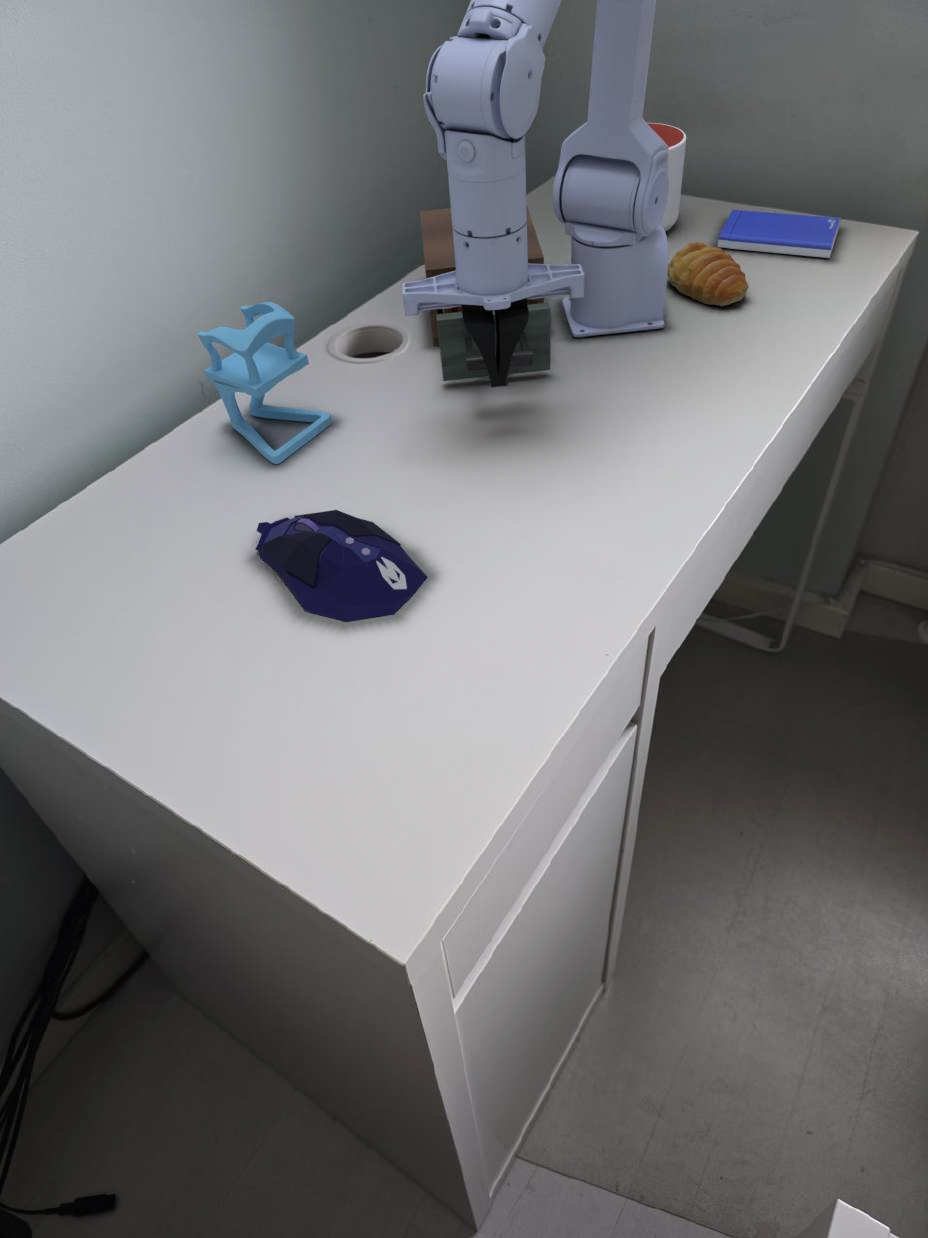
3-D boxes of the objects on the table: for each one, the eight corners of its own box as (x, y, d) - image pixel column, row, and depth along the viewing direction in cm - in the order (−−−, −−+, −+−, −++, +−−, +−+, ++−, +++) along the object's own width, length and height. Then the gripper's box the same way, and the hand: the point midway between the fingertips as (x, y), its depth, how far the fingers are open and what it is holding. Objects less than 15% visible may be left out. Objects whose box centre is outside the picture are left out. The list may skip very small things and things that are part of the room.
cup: (674, 207, 110) (683, 120, 103) (680, 241, 103) (689, 150, 96) (594, 210, 111) (597, 124, 104) (595, 243, 105) (598, 154, 97)
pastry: (762, 299, 92) (769, 263, 89) (710, 317, 91) (714, 281, 88) (708, 266, 98) (712, 232, 96) (657, 283, 97) (660, 248, 94)
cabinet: (544, 334, 91) (543, 257, 85) (433, 345, 91) (425, 269, 85) (527, 272, 101) (525, 199, 95) (427, 283, 101) (419, 211, 95)
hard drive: (841, 215, 101) (733, 207, 105) (832, 245, 96) (718, 235, 100) (838, 229, 102) (731, 220, 106) (829, 259, 97) (716, 248, 101)
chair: (270, 399, 86) (239, 281, 77) (334, 422, 82) (308, 301, 73) (213, 439, 82) (173, 318, 73) (277, 465, 78) (243, 342, 69)
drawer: (558, 397, 81) (558, 334, 76) (446, 409, 81) (439, 347, 76) (532, 304, 93) (531, 246, 89) (436, 315, 93) (430, 256, 89)
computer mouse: (372, 640, 62) (363, 600, 59) (220, 574, 68) (205, 535, 65) (442, 562, 67) (437, 522, 65) (295, 507, 74) (285, 468, 71)
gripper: (396, 255, 64) (417, 414, 73) (593, 233, 64) (588, 396, 73) (394, 216, 69) (414, 371, 78) (577, 197, 69) (574, 353, 78)
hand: (497, 380), depth 76 cm, fingers closed
